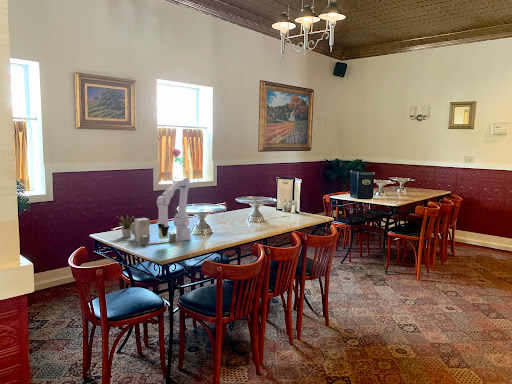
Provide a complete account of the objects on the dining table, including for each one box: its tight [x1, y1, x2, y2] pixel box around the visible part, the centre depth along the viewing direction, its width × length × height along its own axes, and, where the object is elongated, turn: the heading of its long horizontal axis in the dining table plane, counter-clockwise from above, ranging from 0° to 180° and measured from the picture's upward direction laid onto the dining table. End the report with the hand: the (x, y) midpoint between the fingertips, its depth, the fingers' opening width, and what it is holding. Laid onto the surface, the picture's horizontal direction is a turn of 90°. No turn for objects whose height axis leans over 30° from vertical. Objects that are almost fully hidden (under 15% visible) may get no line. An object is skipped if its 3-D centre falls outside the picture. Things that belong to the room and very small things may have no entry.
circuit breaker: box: [131, 217, 151, 244], centre depth 268 cm, size 8×14×15 cm, turn 41°
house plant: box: [117, 214, 135, 238], centre depth 274 cm, size 14×14×16 cm
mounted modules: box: [140, 232, 176, 246], centre depth 260 cm, size 22×5×5 cm, turn 119°
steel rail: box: [139, 239, 178, 247], centre depth 260 cm, size 24×4×1 cm, turn 119°
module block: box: [158, 227, 169, 240], centre depth 250 cm, size 5×5×6 cm
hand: (163, 235), depth 250 cm, fingers closed on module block, 4 cm apart
